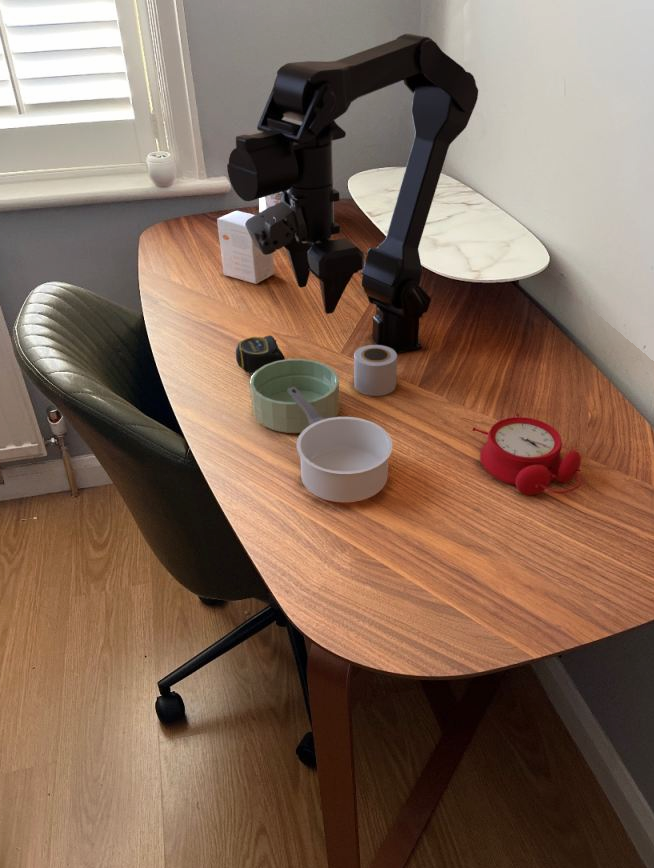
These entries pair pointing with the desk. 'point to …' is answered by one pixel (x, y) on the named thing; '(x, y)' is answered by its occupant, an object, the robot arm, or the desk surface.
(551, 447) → the alarm clock
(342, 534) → the desk surface
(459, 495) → the desk surface
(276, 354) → the tape measure
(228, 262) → the small box
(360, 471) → the saucepan
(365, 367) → the tape roll
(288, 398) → the bowl
